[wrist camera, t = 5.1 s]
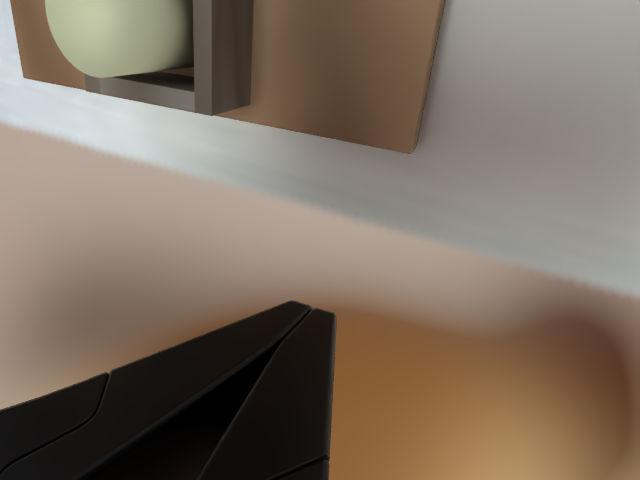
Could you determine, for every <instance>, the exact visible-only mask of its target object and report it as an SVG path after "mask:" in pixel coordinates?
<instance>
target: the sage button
mask: <svg viewBox="0 0 640 480" xmlns="http://www.w3.org/2000/svg"><path fill="white" fill-rule="evenodd" d="M45 8H46V15H47V20H48V24H49V27H50V30H51V33H52V36H53V38H54V40H55V42H56V44H57V46H58V47H59V49H60V51H61V52H62V53H63V55H64V56H65V57H66V58H67V60H68V61H69V62H70V63H71V64H72V65H73V66H74V67H76V68H77V69H78V70H80V71H81V72H83V73H85V74H87V75H89V76H93V77H98V78H105V77H114V76H123V75H131V74H140V73H148V72H156V71H165V70H173V69H182V68H190V67H194V38H193V0H45Z"/></svg>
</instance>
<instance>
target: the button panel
mask: <svg viewBox="0 0 640 480" xmlns="http://www.w3.org/2000/svg"><path fill="white" fill-rule="evenodd" d="M10 2H11V8H12V14H13V20H14V25H15V31H16V37H17V43H18V48H19V54H20V60H21V66H22V71H23V77H24V78H27V79H32V80H37V81H42V82H47V83H52V84H57V85H62V86H67V87H73V88H78V89H83V90H86V91H88V92H93V93H98V94H103V95H108V96H113V97H118V98H123V99H128V100H134V101H139V102H144V103H149V104H154V105H159V106H164V107H169V108H174V109H179V110H184V111H189V112H194V113H199V114H205V115H210V116H213V115H215V116H220V117H225V118H230V119H235V120H240V121H245V122H251V123H256V124H261V125H266V126H271V127H276V128H281V129H286V130H291V131H296V132H301V133H306V134H312V135H317V136H322V137H327V138H332V139H337V140H342V141H347V142H352V143H357V144H362V145H368V146H373V147H378V148H383V149H388V150H393V151H398V152H403V153H408V154H410V153H411V152H412V151H413V150H414V149H415V147H416V144H417V139H418V134H419V129H420V124H421V119H422V114H423V109H424V104H425V98H426V93H427V88H428V83H429V78H430V73H431V68H432V63H433V58H434V53H435V48H436V43H437V38H438V33H439V27H440V22H441V17H442V12H443V7H444V2H445V0H193V38H194V67H190V68H182V69H173V70H165V71H156V72H148V73H140V74H131V75H123V76H114V77H105V78H98V77H93V76H89V75H87V74H85V73H83V72H81V71H80V70H78V69H77V68H76V67H74V66H73V65H72V64H71V63H70V62H69V61H68V60H67V58H66V57H65V56H64V55H63V53H62V52H61V51H60V49H59V47H58V46H57V44H56V42H55V40H54V38H53V36H52V33H51V30H50V27H49V24H48V20H47V15H46V8H45V0H10Z"/></svg>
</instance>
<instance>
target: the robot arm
mask: <svg viewBox="0 0 640 480" xmlns="http://www.w3.org/2000/svg"><path fill="white" fill-rule="evenodd" d="M336 321H337V316H336V314H335V313H333V312H330V311H326V310H323V309H320V308H314V309H313V307H312V306H310V305H307V304H304V303H300V302H297V301H288V302H285V303H283V304H280V305H278V306H275V307H272V308H270V309H267V310H265V311H262V312H260V313H257V314H254V315H252V316H250V317H247V318H244V319H242V320H239V321H237V322H234V323H231V324H229V325H226V326H224V327H221V328H218V329H216V330H213V331H211V332H208V333H206V334H203V335H200V336H198V337H195V338H193V339H190V340H188V341H185V342H182V343H180V344H177V345H175V346H172V347H170V348H167V349H165V350H162V351H159V352H157V353H154V354H152V355H149V356H146V357H144V358H141V359H139V360H136V361H134V362H131V363H128V364H126V365H123V366H121V367H118V368H115V369H113V370H111V371H110V374H108V373H107V372H105V373H102V374H100V375H97V376H94V377H92V378H89V379H87V380H84V381H82V382H79V383H76V384H73V385H71V386H68V387H65V388H63V389H60V390H57V391H54V392H52V393H49V394H46V395H44V396H41V397H38V398H35V399H32V400H29V401H26V402H23V403H20V404H17V405H13V406H10V407H7V408H4V409H1V410H0V480H329V458H330V438H331V419H332V400H333V381H334V361H335V342H336Z"/></svg>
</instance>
